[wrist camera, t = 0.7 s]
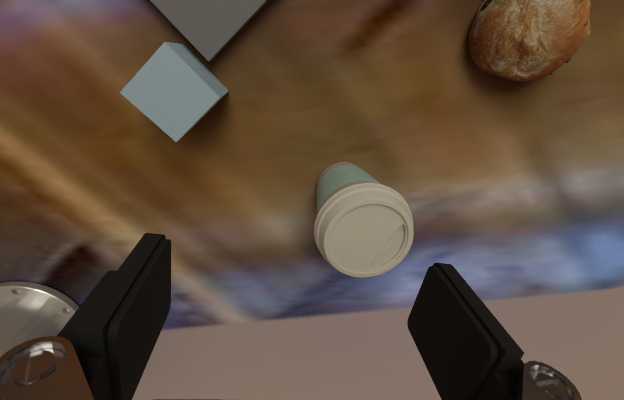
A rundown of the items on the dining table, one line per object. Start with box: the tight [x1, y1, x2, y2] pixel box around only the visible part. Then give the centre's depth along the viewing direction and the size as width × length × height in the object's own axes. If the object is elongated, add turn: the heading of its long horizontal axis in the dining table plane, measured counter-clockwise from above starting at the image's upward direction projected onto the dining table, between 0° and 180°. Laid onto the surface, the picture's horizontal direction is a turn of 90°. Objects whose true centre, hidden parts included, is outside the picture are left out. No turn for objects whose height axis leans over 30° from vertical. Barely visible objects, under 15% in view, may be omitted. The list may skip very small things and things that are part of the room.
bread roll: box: [469, 0, 590, 82], centre depth 29 cm, size 10×10×8 cm
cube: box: [120, 42, 228, 142], centre depth 28 cm, size 6×6×6 cm
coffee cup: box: [314, 162, 413, 278], centre depth 31 cm, size 8×8×12 cm
